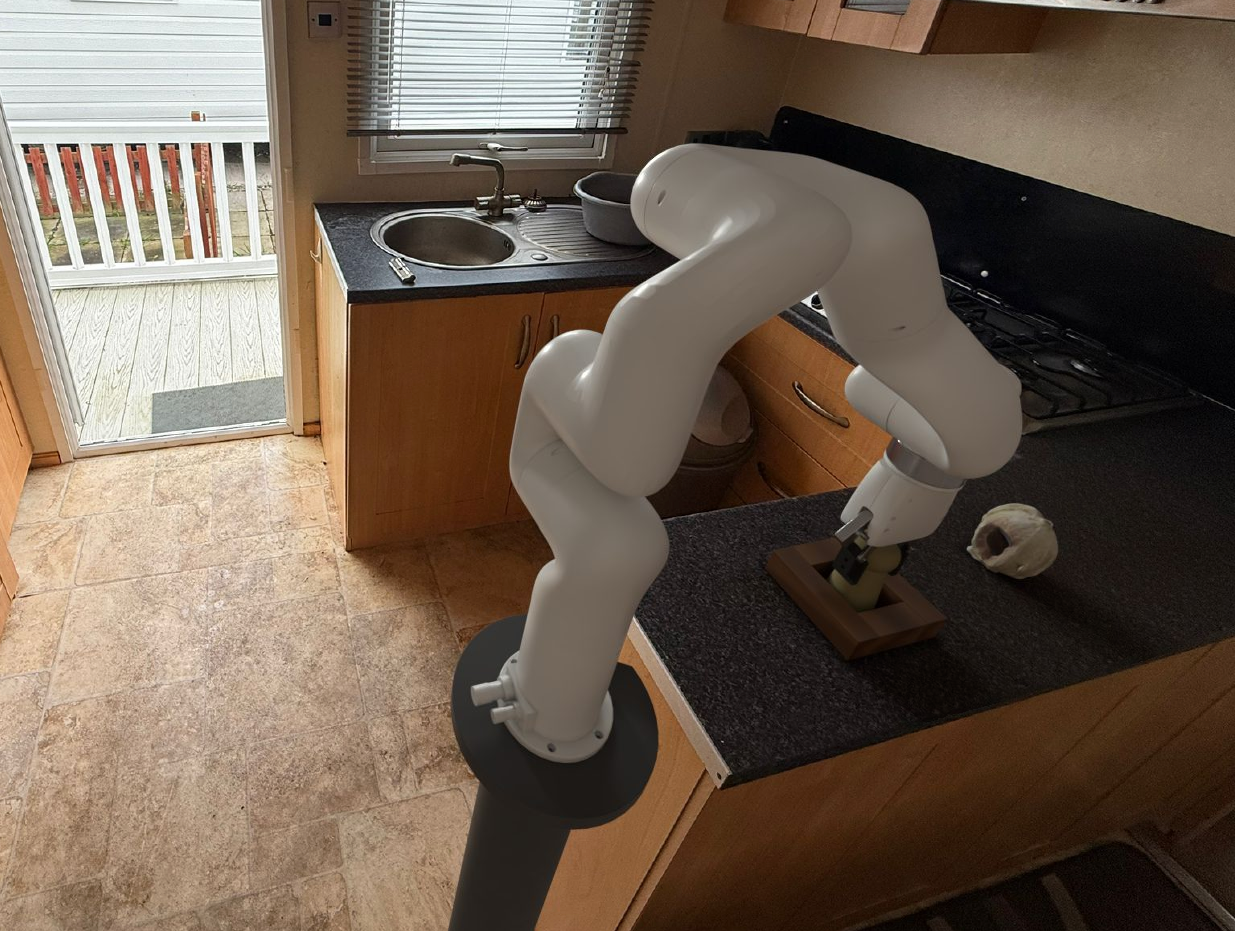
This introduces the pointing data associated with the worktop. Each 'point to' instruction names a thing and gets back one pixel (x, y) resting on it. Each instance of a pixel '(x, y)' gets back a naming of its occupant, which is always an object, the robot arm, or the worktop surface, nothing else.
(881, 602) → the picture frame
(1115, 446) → the worktop surface
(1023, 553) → the cream hollow round shell
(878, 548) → the cork
